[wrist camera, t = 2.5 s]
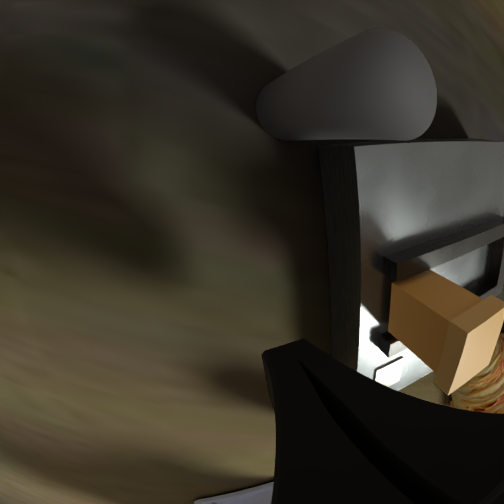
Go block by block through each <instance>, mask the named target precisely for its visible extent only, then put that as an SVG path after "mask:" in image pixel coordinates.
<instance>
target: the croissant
mask: <svg viewBox="0 0 504 504" xmlns="http://www.w3.org/2000/svg"><path fill="white" fill-rule="evenodd" d="M451 396H452V401H450V407H453V408H457V409H463V410H469V411H476V412H486V413H498V414H504V333H502V334H499V337H498V340H497V343H496V346H495V349H494V352H493V355H492V357H491V360H490V363H489V365H488V366H486V367H485V368H484V369H483V370H481V371H480V372H479V373H478V374H476V375H475V376H474V377H473V378H471V379H470V380H469V381H467V382H466V383H465V384H463V385H462V386H461V387H459V388H458V389H456V390H455V391H454V392H452V393H451Z"/></svg>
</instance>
